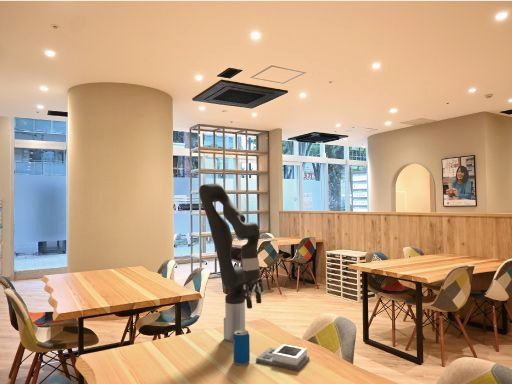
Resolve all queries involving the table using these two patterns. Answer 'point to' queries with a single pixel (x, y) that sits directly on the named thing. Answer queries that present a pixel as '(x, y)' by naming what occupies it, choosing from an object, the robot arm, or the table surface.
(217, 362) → the table surface
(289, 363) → the grey and white device
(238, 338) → the beverage can
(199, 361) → the table surface
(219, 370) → the table surface
